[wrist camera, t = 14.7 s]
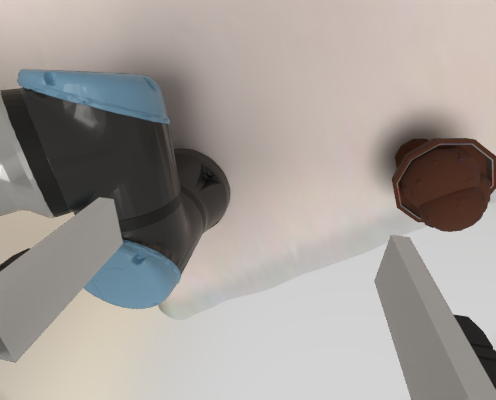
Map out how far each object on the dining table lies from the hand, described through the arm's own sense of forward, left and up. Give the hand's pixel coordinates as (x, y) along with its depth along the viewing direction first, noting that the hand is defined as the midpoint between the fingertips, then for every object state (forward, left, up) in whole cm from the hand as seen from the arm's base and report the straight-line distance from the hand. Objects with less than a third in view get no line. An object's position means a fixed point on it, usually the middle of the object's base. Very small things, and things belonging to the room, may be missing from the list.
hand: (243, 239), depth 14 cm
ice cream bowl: (+20, -5, -32) cm, 38 cm away
